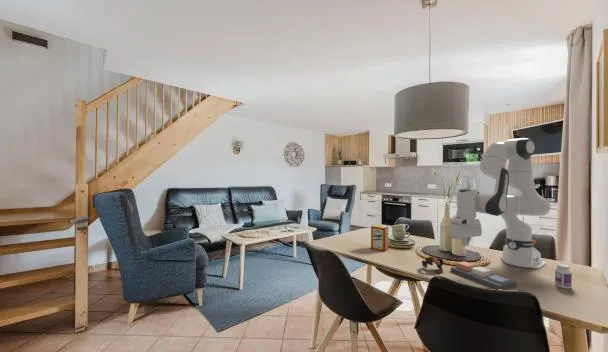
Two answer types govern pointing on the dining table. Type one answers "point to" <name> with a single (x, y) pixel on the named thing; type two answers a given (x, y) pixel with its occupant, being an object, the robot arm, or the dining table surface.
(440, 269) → the brown black arched toy
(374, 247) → the baking soda box
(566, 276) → the pill bottle
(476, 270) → the cream button
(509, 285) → the button panel
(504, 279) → the slate button
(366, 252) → the dining table surface
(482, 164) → the robot arm
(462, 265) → the terracotta button
